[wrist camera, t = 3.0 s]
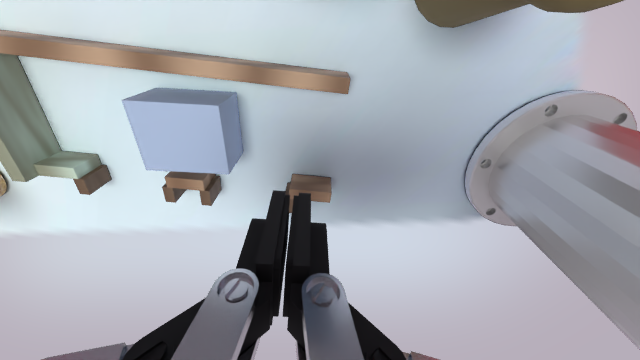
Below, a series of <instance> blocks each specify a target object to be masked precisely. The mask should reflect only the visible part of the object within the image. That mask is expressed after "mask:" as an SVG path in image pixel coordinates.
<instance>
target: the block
mask: <svg viewBox="0 0 640 360" xmlns="http://www.w3.org/2000/svg"><path fill="white" fill-rule="evenodd" d="M122 103H123V105H124V108H125V111H126V114H127V117H128V120H129V122H130V125H131V128H132V131H133V134H134V137H135V139H136V142H137V145H138V148H139V151H140V154H141V156H142V159H143V162H144V165H145V168H146V170H155V171H175V172H194V173H214V174H230V172H231V170H232V169H233V167H234V166H235V164H236V163H237V161H238V159H239V158H240V156H241V155H242V153H243V146H242V137H241V128H240V120H239V111H238V102H237V93H236V92H222V91H205V90H188V89H171V88H154V89H151V90H149V91H146V92H143V93H140V94H138V95H135V96H132V97H129V98H127V99H124V100H122Z"/></svg>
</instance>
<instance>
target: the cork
mask: <svg viewBox="0 0 640 360" xmlns="http://www.w3.org/2000/svg"><path fill="white" fill-rule="evenodd" d="M621 1H623V0H415V2H416V5H417V7H418V10H419V11H420V12H421V14H422V15H423V16H424V17H425V18H426V19H427V20H428V21H429V22H431V23H433V24H435V25H437V26H439V27H451V28H454V27H458V26H461V25H465V24H468V23H471V22H474V21H477V20H480V19H484V18H487V17H490V16H493V15H496V14H499V13H502V12H505V11H508V10H512V9H515V8H518V7H521V6H524V5H527V4H532V5H533V6H535V7H537V8H539V9H542V10H545V11H547V12H563V13H580V12H587V11H591V10H594V9H598V8H601V7H605V6H608V5H612V4H615V3H618V2H621Z"/></svg>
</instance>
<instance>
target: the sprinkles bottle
mask: <svg viewBox="0 0 640 360" xmlns="http://www.w3.org/2000/svg"><path fill="white" fill-rule="evenodd" d="M6 189H7V186H6V182H5V180H4V179H3V177H2V176H1V174H0V196H2V195H3V194H4V193H5V191H6Z"/></svg>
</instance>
